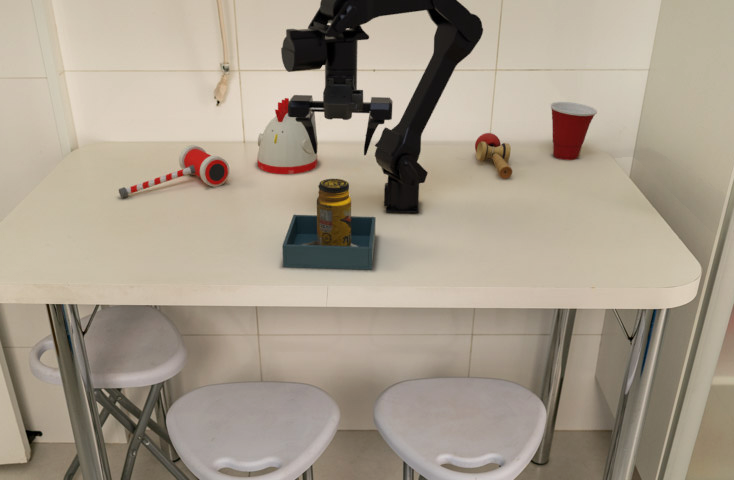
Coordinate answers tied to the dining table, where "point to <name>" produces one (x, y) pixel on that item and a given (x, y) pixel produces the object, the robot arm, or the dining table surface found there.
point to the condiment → (333, 214)
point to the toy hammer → (190, 170)
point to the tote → (328, 256)
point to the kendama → (494, 153)
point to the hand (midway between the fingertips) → (340, 153)
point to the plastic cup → (570, 128)
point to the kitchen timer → (285, 145)
